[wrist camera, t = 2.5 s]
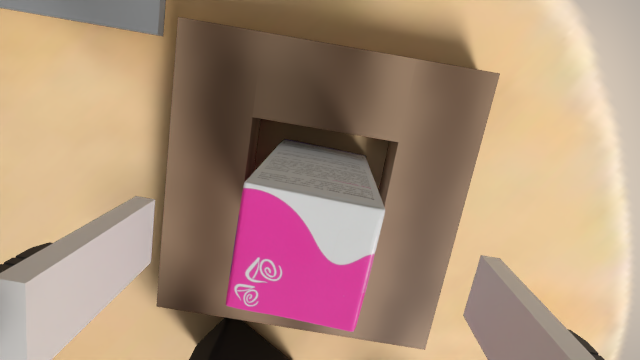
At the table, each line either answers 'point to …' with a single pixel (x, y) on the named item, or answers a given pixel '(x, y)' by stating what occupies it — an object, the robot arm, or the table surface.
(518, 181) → the table surface
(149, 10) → the mat
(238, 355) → the battery
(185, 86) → the holder
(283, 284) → the supplement box
